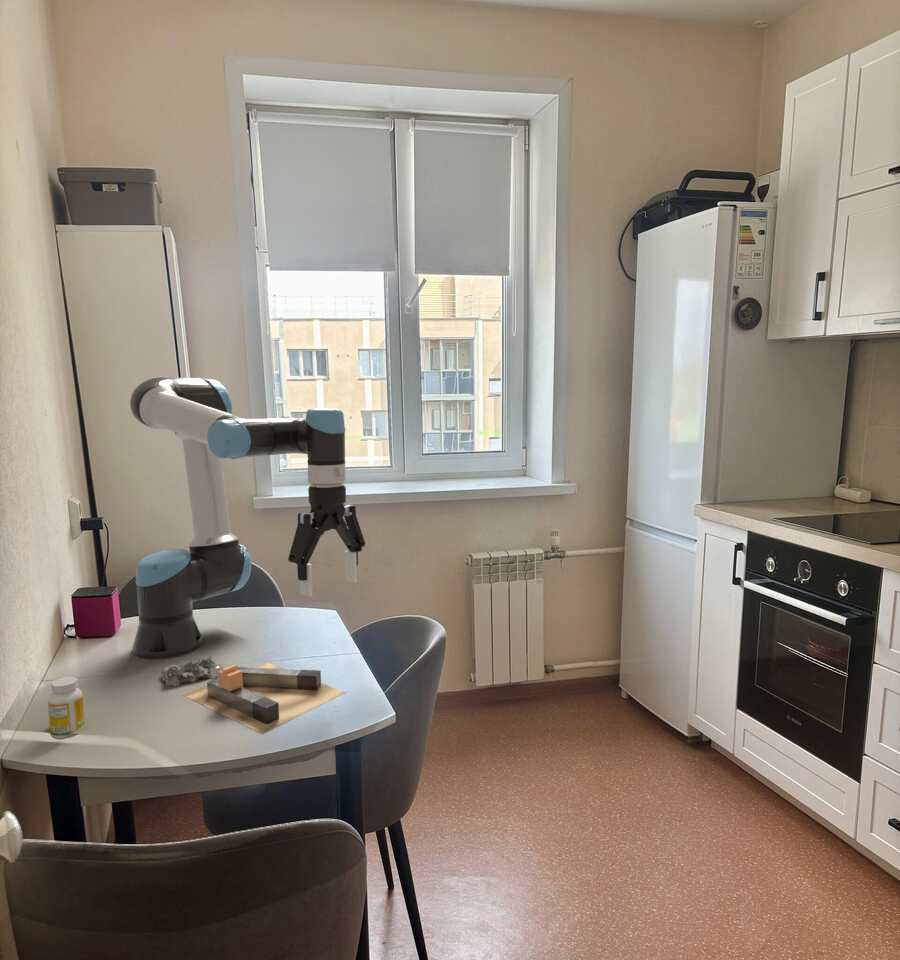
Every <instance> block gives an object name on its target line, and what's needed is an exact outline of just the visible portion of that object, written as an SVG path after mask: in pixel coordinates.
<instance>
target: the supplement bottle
mask: <svg viewBox="0 0 900 960" xmlns="http://www.w3.org/2000/svg"><path fill="white" fill-rule="evenodd" d="M50 686H51V692H52V693H51V694H50V695H49V696H48V697H47V706H48V707H47V709H48V719H49V720H48V721H49V731H50V733H49V734H50V736H51V738H53V739H55V740H65V739H70V738H73V737H76V736H78V735H79V733H71V732H74V731H77V730H78V729H80V728H82V727H83V726H84V724H85V710H84V696H83V691H82V689H80V688H78V686H79V682H78V678H77V677H76V676H64V677H61V678H60V677H59V678H57V679H55V680H53V681H52V682H51V684H50Z"/></svg>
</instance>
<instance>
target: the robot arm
mask: <svg viewBox="0 0 900 960" xmlns="http://www.w3.org/2000/svg"><path fill="white" fill-rule="evenodd" d="M129 400H130V401H129V403H130V404H129V405H130V410H131V413H132V414H133V417H135V419H136V420H137V421H138V422H140V424H142V425H144V426H147V427H149V428H151V429H155V430H168V431H172V432H174V434H175V436H176V437H177V438H178V439H180V440H181V441H182V446H183V455H184V463H185V470H186V479H187V485H188V486H187V487H188V494H189V495H188V496H189V502H190V510H191V517H192V527H193V536H194V537H193V539H192V540H191V541H190V543H189V544H188V547H189V551H188V550H187V549H183V548H173V549H169V550H168V549H166V550H165V549H164V550H161V551H157V552H154V553H151V554H149V555H147V556H145V557H143V558H142V559H140V560H139V561H138V562H137V564H136V566H135V567H136V568H135V584H136V594H137V595H136V596H137V610H138V611H137V612H138V626H137V631H136V633H135V636H134V640H133V644H132V654H133V656H135V657H137V658H139V659H145V660H164V659H171V658H176V657H180V656H183V655H187V654H189V653H190V654H191V653H192V652H194V651H195V650H198V649H199V648H200V647H201V646H202V645H203V636H202V634H201V632H200V629H199V627H198V624H197V622H196V619H195V618H194V612H193V609H194V608H193V603H194V602H198V601H202V600H205V599H210V598H213V597H217V596H220V595H228V594H230V593H232V592H235V591H238V590H240V589H242V588H243V587H244V586H246V584H247V582H248V581H249V579H250V576H251V573H252V572H251V571H252V559H251V555H250V552H248V549H247V547H246V546H245V545H243V544H240V542H239V537H238V536H236V535H235V534H233V532H232V528H231V523H230V513H229V506H228V498H227V497H228V495H227V491H226V490H227V489H226V482H225V473H224V466H223V459H230V460H236V459H243V458H251V457H262V456H275V455H276V456H277V455H287V454H289V455H290V454H304V455H307V483H308V484H309V487H308V489H307V490H308V503H309V505H310V511H309V512H307V513H303V512H299V513H298V514H297V526H296V530H295V533H294V537H293V541H292V544H291V548H290V551H289V555H288V558H287V561H288V563H289V562H290V563H294V564H296V567H297V568H296V569H297V571H296V572H297V579H298V581H300V582H299V583H300V584H299V585H300V587H299V588H300V595H302V596H305V597H309V598H311V597H313V571H312V570H313V568H312V566H313V565H312V564H311V563H309V562H310V560H311V557H312V555H313V554H314V552H315V549H316V547H317V545H318V543H319V541H320V539H321V537H322V536H323V535H324V534H325V532H327V531H330V530H335V531H336V533H337V535H338V536H339V538H340V539H341V541H342V543H343V544H344V545H345V547H346V548H347V550H344V571H345V572H344V577H345V579H344V580H345V582H351V583H357V581H358V578H357V577H358V576H357V575H358V573H357V572H358V571H357V570H358V569H357V566H358V563H359V552H362V550H363V547H365V545H366V541H365V537H364V535H363V532H362V530H361V526H360V523H359V521H358V518H357V509H356V506H355V505H353V504H345V503H346V502H347V487H346V485H345V483H346V433H345V432H346V427H345V416H344V412H343V411H342V409H340V408H309V409H307V410H306V416H305V417H293V416H281V417H267V418H243V417H240V416H237V415H233V414H232V413H233V404H232V399H231V396H230V393H229V392H228V390H227V388H226V387H225V386H224V385H223V384H222V382H220V381H219V380H216V379H212V378H211V379H210V378H204V377H163V376H162V377H161V376H160V377H153V378H150V379H147V380H145V381H143V382H141V383H139V384H138V385H137V386H136V387H135V389H134V390H133V392H132V394H131V397H130V399H129Z"/></svg>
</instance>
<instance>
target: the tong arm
mask: <svg viewBox="0 0 900 960" xmlns="http://www.w3.org/2000/svg"><path fill="white" fill-rule="evenodd" d="M238 670H240V671H242V679H243V686H257V687H276V688H296V689H306V690H317V689H318V688H319V686H320V685H321V683H322V675H321V674H322V670H317V669H316V670H313V669H285V668H284V669H267V668H253V667H243V666H238Z"/></svg>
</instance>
